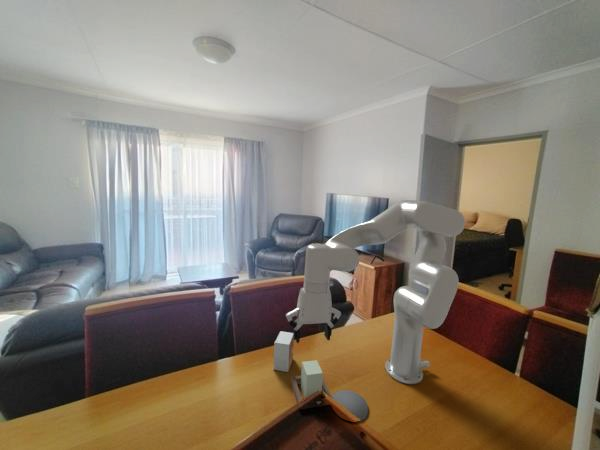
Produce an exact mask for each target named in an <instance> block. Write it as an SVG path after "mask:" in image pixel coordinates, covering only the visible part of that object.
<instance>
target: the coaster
mask: <svg viewBox="0 0 600 450" xmlns="http://www.w3.org/2000/svg"><path fill="white" fill-rule="evenodd" d="M331 396H332V398H333V399H334V400H335V401H337V402H338V403H340V404H342V405H343V406H344V407H345V408H346V409H347V410H348V411H350V412H351V413H352V414H353V415H355V416H356V417H357V418H359V419H360V420H362V421H363V420H365V419H366V418H367V416H368V413H369V407H368V403H367V400H365V398H364V397H363V396H362V395H361V394H359V393H357V392H355V391H353V390H348V389H341V390H339V391H336V392H334V394H333V395H331Z"/></svg>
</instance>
